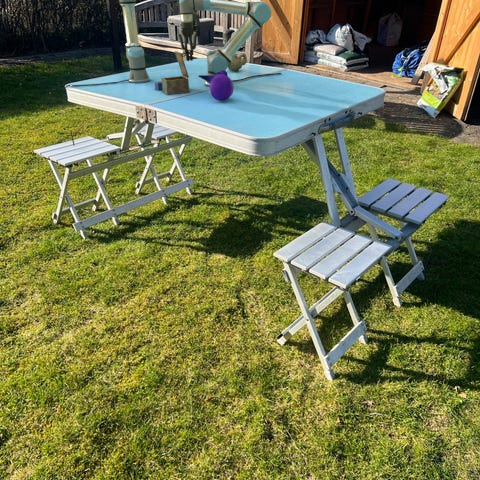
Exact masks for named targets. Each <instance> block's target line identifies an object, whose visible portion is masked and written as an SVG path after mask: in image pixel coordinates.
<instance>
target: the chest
mask: <svg viewBox="0 0 480 480" xmlns="http://www.w3.org/2000/svg"><path fill="white" fill-rule="evenodd" d="M161 82H162V88H163V90H162V92H163V93H164V94H165V95H167V96H170V95H179V94H185V93H186V94H187V93H190V84H189V83H190V82H189V78H187V77H185V76H183V75H180V76H169V77H162V78H161Z"/></svg>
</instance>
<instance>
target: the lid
mask: <svg viewBox="0 0 480 480" xmlns="http://www.w3.org/2000/svg"><path fill="white" fill-rule="evenodd" d="M188 51H189V53H188V54H186V55H185V52H183V53H182V52H180V51H178V50H175V51H174V53H175V56H176V60H177V62H178V67H179V70H180V72H181V76H184V77H186V78H188V79H189V78H190V77H189V73H188V70H187V67H186V66H187V65H186V64H185V61H184V58H185V57H187V55H189V56H190V55H192V52H190V50H188ZM192 56H193V55H192Z"/></svg>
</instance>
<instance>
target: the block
mask: <svg viewBox="0 0 480 480" xmlns="http://www.w3.org/2000/svg"><path fill="white" fill-rule="evenodd" d="M154 90H156V91H163V88H162V80H161V81H155V82H154Z"/></svg>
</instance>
